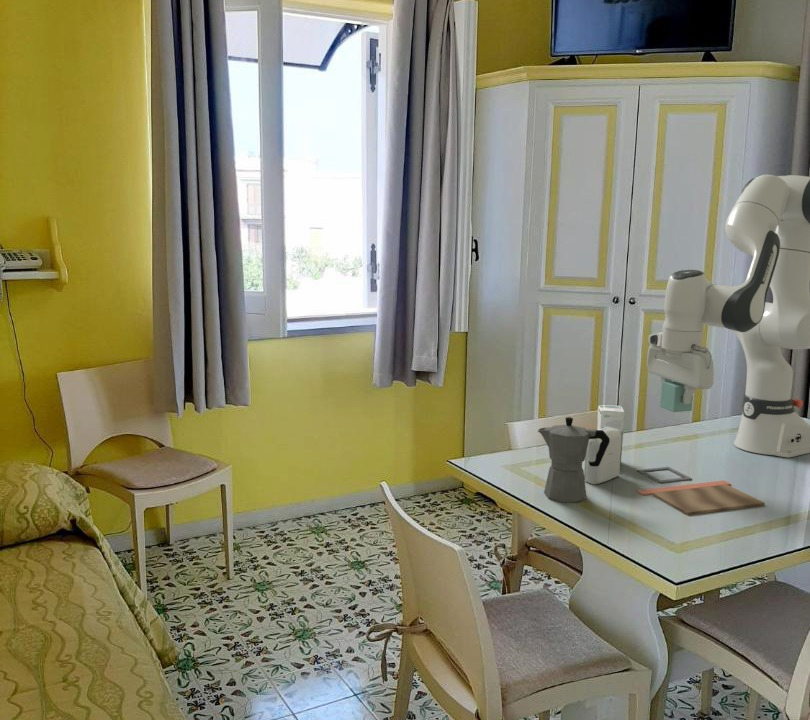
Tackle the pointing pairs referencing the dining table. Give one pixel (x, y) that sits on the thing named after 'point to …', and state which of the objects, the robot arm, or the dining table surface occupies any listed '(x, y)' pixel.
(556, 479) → the coffeepot
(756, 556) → the dining table surface
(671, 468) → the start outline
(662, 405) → the teal block
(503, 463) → the dining table surface
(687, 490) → the board
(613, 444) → the photo printer
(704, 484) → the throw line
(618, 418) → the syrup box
